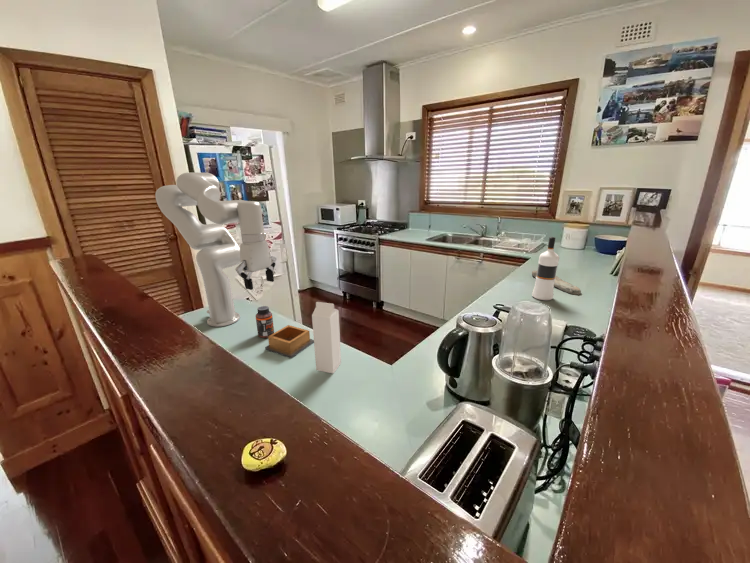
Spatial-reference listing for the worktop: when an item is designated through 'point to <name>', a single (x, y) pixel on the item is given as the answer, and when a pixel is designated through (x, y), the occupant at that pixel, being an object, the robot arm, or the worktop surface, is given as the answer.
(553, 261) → the vodka
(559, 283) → the elongated rock
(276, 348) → the square wooden tray
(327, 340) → the milk
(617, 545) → the worktop surface
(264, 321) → the supplement bottle
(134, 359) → the worktop surface
